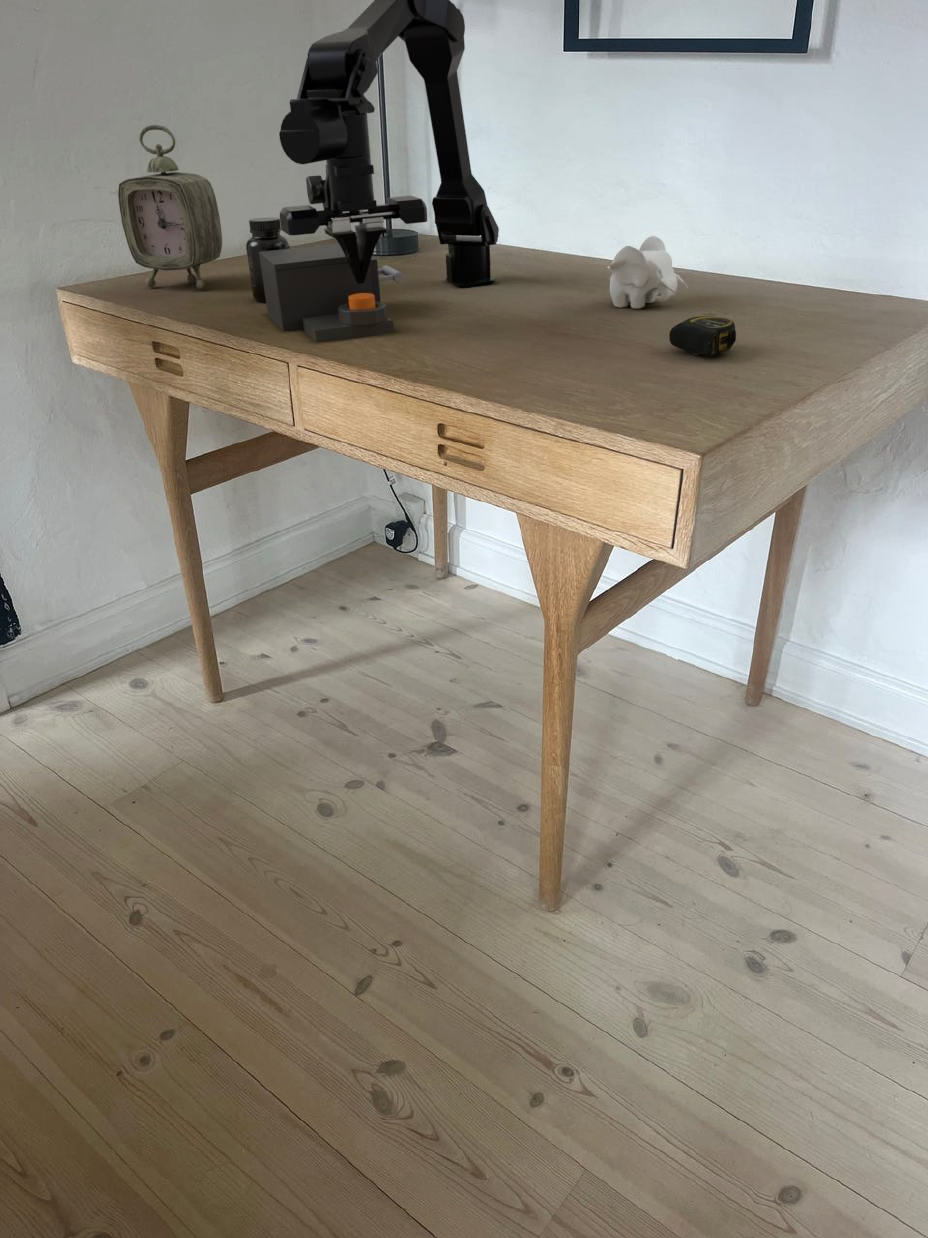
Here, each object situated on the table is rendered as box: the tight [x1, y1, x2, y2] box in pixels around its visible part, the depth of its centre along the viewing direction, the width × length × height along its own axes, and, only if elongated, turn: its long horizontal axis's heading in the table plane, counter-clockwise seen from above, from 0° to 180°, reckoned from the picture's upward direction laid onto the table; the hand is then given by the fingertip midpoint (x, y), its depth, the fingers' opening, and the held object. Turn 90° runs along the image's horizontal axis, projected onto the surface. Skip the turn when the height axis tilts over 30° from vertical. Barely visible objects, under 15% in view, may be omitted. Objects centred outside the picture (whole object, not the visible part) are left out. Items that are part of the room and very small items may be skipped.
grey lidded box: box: [259, 243, 373, 332], centre depth 135 cm, size 14×12×9 cm
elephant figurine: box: [606, 235, 688, 310], centre depth 133 cm, size 10×12×9 cm
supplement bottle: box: [245, 216, 291, 303], centre depth 146 cm, size 7×7×12 cm
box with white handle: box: [370, 256, 404, 302], centre depth 136 cm, size 17×10×7 cm, turn 111°
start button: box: [348, 293, 375, 310], centre depth 126 cm, size 4×4×2 cm
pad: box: [302, 301, 394, 343], centre depth 128 cm, size 11×9×4 cm
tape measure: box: [668, 315, 737, 357], centre depth 112 cm, size 7×7×4 cm
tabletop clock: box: [117, 124, 223, 291], centre depth 155 cm, size 14×9×25 cm, turn 68°
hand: (360, 283), depth 125 cm, fingers closed
